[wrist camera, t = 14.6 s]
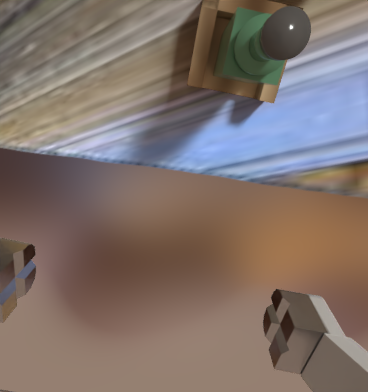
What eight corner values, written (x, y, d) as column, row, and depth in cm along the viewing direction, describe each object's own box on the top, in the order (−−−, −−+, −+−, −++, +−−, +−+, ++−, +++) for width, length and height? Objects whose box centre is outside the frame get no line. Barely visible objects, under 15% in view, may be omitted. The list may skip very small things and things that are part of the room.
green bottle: (212, 75, 40) (233, 71, 17) (221, 35, 38) (257, -29, 15) (247, 83, 40) (312, 88, 18) (258, 43, 38) (346, -9, 15)
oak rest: (188, 84, 41) (187, 85, 36) (204, -3, 37) (205, -14, 32) (265, 100, 42) (273, 103, 37) (290, 17, 37) (303, 8, 33)
